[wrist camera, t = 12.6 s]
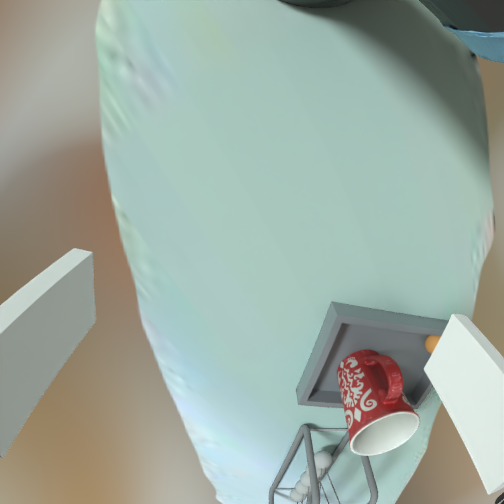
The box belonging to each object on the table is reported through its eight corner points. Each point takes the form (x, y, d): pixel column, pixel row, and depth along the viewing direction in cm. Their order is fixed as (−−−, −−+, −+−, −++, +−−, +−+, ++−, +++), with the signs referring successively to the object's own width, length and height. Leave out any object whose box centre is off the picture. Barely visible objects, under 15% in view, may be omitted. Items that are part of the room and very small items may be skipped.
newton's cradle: (310, 491, 58) (317, 550, 41) (268, 490, 57) (269, 552, 41) (358, 419, 48) (381, 500, 31) (302, 419, 47) (315, 507, 31)
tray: (331, 301, 39) (337, 314, 36) (454, 321, 41) (464, 332, 38) (296, 389, 45) (298, 404, 41) (411, 396, 46) (417, 408, 43)
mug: (379, 386, 44) (405, 450, 31) (326, 391, 44) (342, 460, 31) (400, 321, 40) (442, 383, 27) (340, 324, 40) (369, 394, 27)
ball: (427, 327, 40) (436, 339, 37) (442, 329, 40) (451, 341, 37) (418, 345, 41) (426, 357, 38) (433, 346, 41) (441, 358, 38)
